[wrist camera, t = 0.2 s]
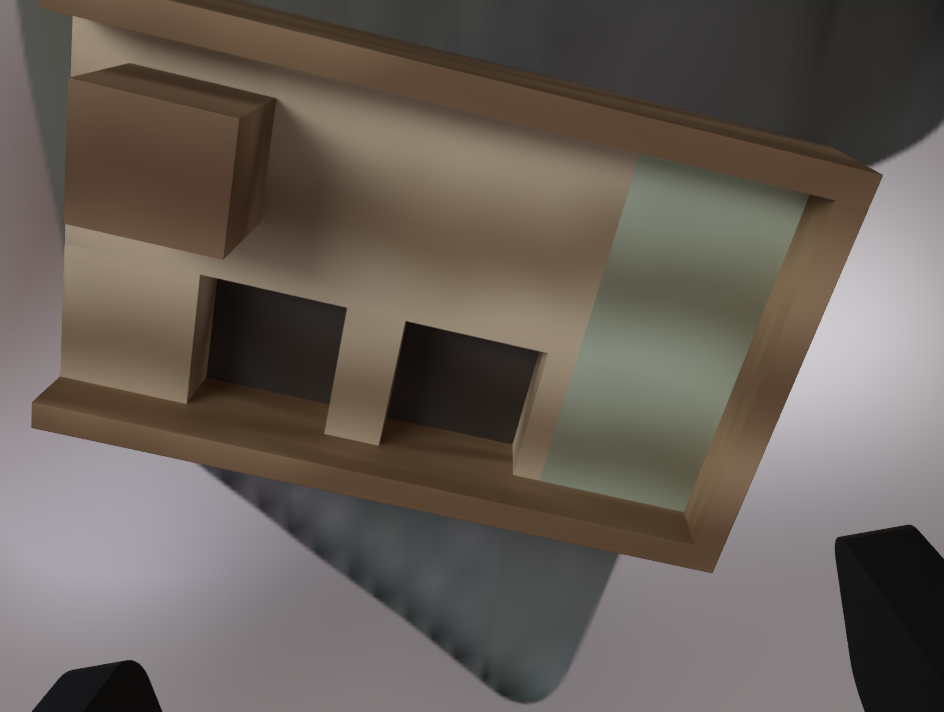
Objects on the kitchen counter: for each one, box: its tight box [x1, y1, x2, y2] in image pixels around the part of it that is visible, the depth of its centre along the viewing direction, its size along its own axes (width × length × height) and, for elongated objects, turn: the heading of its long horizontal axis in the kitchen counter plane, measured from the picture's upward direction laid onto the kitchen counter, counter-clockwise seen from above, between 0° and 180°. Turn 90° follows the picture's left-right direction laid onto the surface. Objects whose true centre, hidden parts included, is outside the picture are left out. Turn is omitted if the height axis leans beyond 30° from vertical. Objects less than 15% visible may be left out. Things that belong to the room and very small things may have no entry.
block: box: [63, 63, 276, 260], centre depth 25 cm, size 4×4×4 cm
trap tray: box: [31, 0, 882, 573], centre depth 29 cm, size 14×24×4 cm, turn 77°
